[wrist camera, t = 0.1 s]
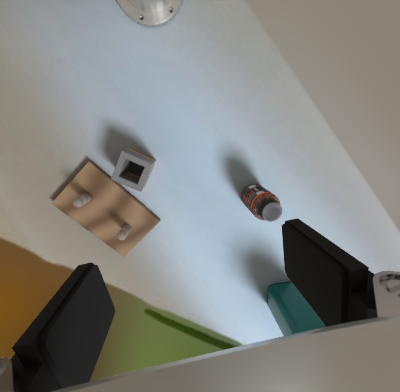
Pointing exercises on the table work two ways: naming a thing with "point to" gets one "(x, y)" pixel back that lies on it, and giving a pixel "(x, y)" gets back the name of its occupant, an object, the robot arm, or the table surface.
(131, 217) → the pin board
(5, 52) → the table surface
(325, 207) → the table surface
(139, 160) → the sleeve
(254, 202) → the supplement bottle
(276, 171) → the table surface
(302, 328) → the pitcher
